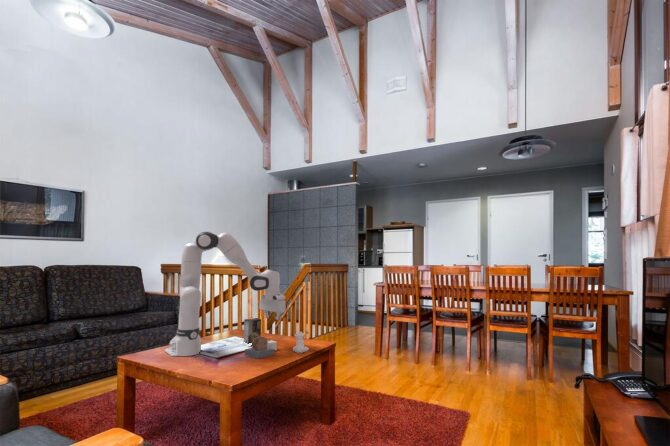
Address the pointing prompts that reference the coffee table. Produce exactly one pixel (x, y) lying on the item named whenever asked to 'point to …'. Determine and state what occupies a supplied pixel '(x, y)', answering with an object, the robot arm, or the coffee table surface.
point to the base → (259, 352)
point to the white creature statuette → (300, 343)
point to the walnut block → (259, 343)
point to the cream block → (272, 344)
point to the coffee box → (252, 329)
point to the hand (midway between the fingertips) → (271, 318)
